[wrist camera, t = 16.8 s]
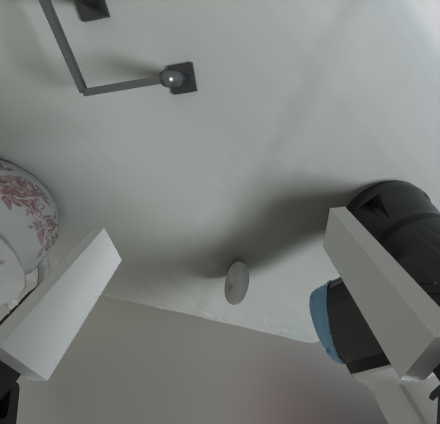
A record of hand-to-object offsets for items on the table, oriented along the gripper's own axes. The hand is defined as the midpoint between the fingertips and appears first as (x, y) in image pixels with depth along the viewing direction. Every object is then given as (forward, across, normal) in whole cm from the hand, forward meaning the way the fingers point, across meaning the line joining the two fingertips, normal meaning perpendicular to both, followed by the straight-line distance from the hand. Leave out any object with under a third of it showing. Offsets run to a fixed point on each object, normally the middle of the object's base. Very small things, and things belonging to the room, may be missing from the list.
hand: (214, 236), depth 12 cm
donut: (+28, +1, +33) cm, 43 cm away
